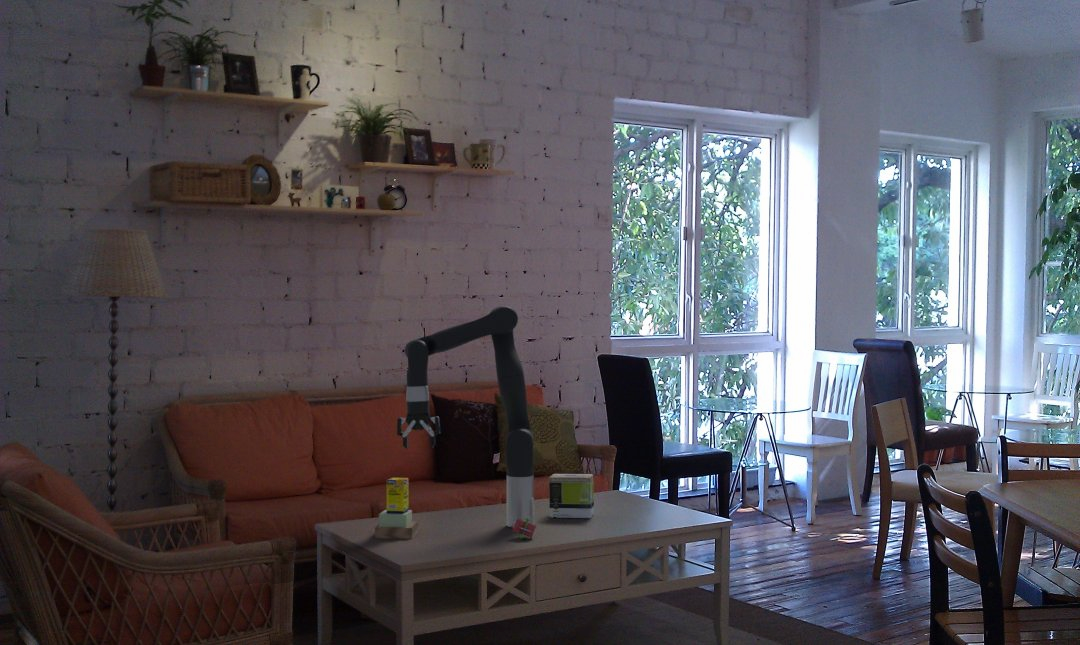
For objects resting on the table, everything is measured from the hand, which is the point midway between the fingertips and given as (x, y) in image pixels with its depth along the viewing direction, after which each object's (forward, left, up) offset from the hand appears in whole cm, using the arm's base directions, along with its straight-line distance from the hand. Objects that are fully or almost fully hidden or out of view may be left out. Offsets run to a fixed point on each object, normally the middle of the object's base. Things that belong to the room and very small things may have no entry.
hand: (419, 448), depth 361 cm
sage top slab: (+6, +9, -24) cm, 26 cm away
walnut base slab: (+6, +8, -28) cm, 30 cm away
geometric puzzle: (-36, +11, -28) cm, 47 cm away
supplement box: (+6, +9, -20) cm, 23 cm away
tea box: (-50, -30, -28) cm, 64 cm away
